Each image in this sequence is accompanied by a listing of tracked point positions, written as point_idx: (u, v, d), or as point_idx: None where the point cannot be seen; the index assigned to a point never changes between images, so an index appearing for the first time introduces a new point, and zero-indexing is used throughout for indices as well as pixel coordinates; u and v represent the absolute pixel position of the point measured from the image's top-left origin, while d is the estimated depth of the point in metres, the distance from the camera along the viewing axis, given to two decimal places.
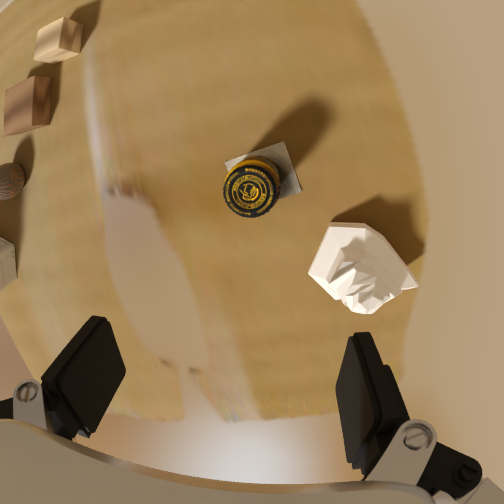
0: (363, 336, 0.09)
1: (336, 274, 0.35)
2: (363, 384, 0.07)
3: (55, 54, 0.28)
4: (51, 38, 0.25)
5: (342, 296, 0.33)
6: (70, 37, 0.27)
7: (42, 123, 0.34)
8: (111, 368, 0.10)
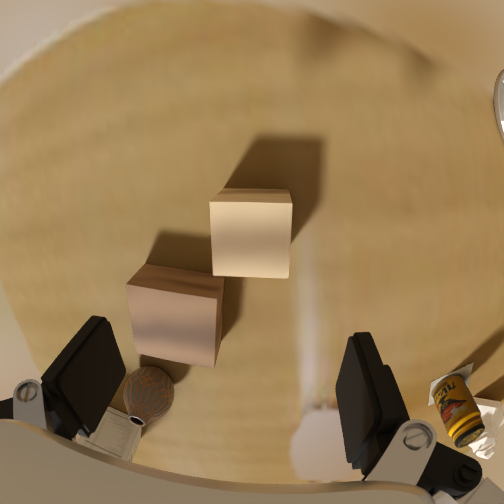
0: (363, 336, 0.09)
1: None
2: (363, 384, 0.07)
3: None
4: (264, 247, 0.22)
5: (474, 449, 0.30)
6: None
7: (218, 350, 0.31)
8: (111, 368, 0.10)
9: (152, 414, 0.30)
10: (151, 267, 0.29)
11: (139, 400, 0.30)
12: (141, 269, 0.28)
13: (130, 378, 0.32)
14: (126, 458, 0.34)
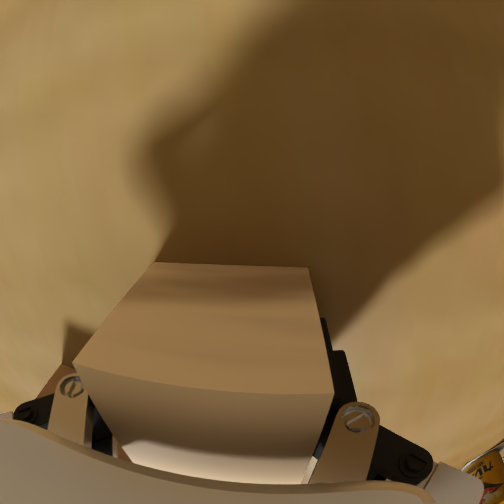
0: None
1: None
2: None
3: None
4: (241, 461, 0.06)
5: None
6: None
7: None
8: None
9: None
10: None
11: None
12: (53, 377, 0.13)
13: None
14: None
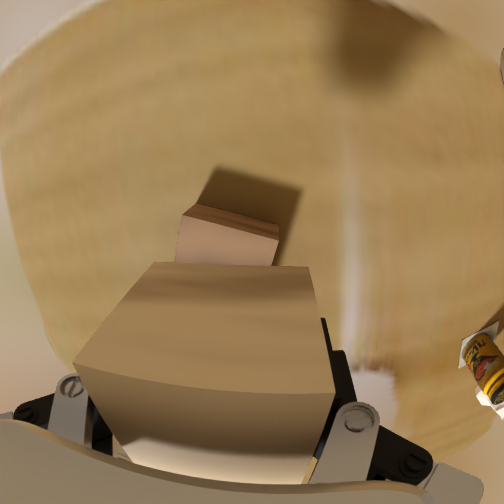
0: None
1: None
2: None
3: None
4: (242, 460, 0.06)
5: (502, 415, 0.30)
6: None
7: None
8: None
9: None
10: (203, 206, 0.29)
11: None
12: (194, 206, 0.28)
13: None
14: None
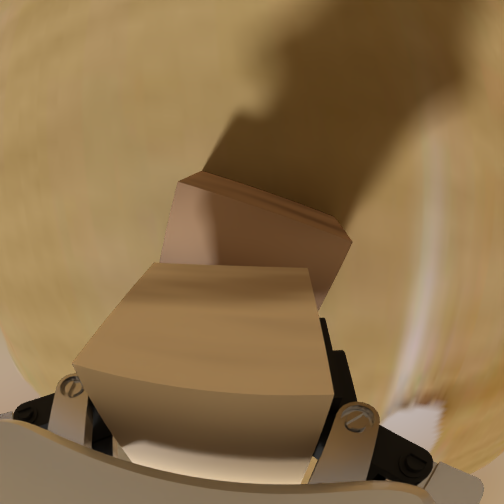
0: None
1: None
2: None
3: None
4: (241, 461, 0.06)
5: None
6: None
7: None
8: None
9: None
10: (214, 176, 0.17)
11: None
12: (199, 174, 0.16)
13: None
14: None
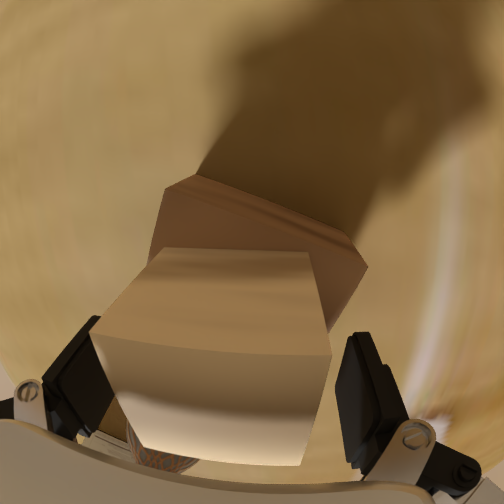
0: (362, 336, 0.09)
1: None
2: (362, 384, 0.07)
3: None
4: (245, 432, 0.07)
5: None
6: None
7: None
8: None
9: (179, 466, 0.15)
10: (210, 181, 0.15)
11: None
12: (192, 178, 0.14)
13: None
14: None
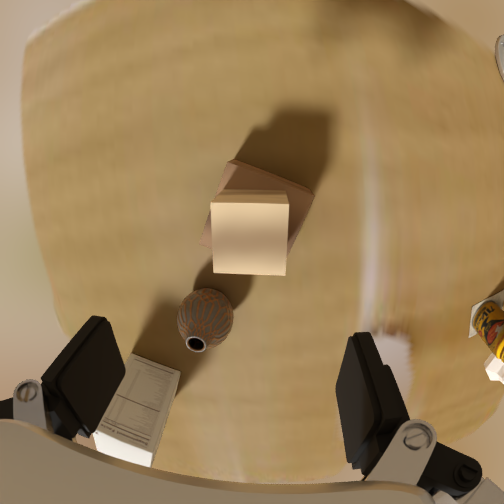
0: (363, 336, 0.09)
1: None
2: (363, 384, 0.07)
3: None
4: (262, 245, 0.23)
5: None
6: None
7: None
8: (111, 368, 0.10)
9: (214, 334, 0.31)
10: (241, 162, 0.30)
11: (200, 317, 0.31)
12: (233, 160, 0.29)
13: (187, 298, 0.33)
14: (165, 412, 0.35)
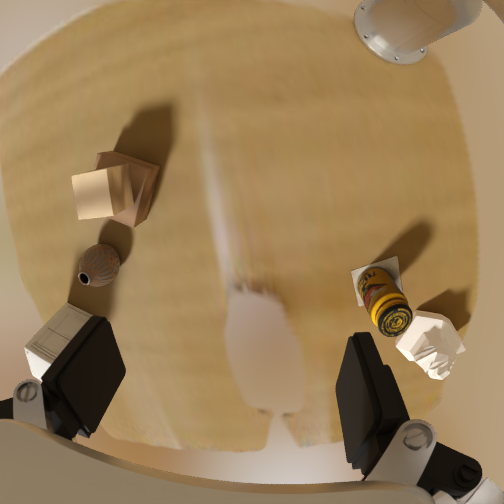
0: (363, 336, 0.09)
1: (421, 352, 0.42)
2: (363, 384, 0.07)
3: None
4: (98, 197, 0.32)
5: (425, 368, 0.40)
6: (120, 191, 0.34)
7: (141, 221, 0.42)
8: (111, 368, 0.10)
9: (96, 272, 0.40)
10: (116, 152, 0.39)
11: (88, 259, 0.40)
12: (109, 151, 0.38)
13: (87, 249, 0.42)
14: None
